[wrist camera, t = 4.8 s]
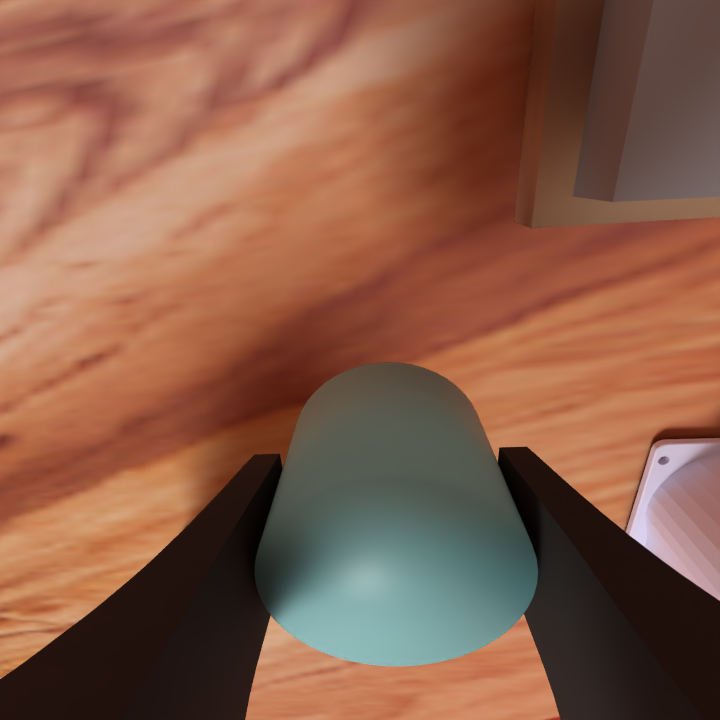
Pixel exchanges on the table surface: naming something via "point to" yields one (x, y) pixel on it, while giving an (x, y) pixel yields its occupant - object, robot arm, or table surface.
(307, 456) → the teal domed cylinder
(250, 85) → the table surface
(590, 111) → the tower top
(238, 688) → the robot arm
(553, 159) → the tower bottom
